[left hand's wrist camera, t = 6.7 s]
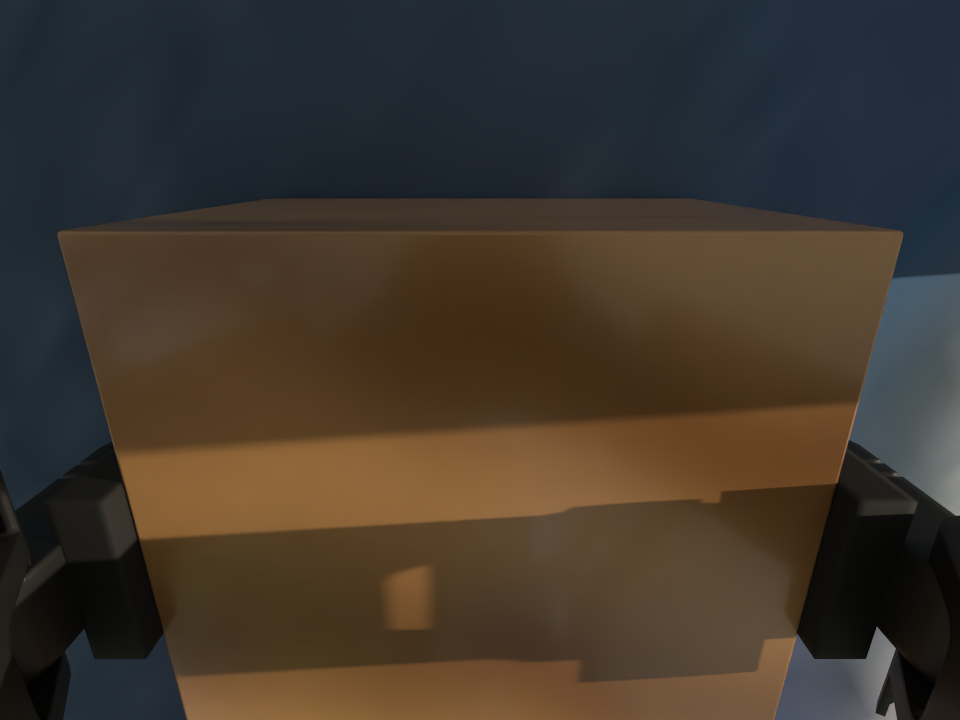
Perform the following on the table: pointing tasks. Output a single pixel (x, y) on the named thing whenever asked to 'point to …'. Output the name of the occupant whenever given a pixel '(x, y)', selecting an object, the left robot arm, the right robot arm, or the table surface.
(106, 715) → the table surface
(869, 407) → the table surface
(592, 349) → the slab
